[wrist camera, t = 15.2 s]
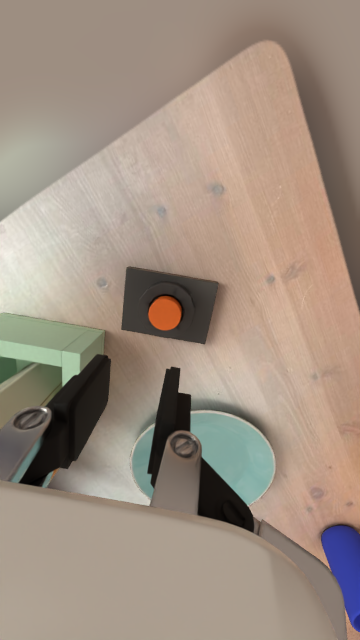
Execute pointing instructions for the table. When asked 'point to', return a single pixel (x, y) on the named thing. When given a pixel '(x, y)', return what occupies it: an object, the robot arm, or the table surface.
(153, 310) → the button
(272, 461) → the plate
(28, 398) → the cosmetic box
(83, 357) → the mint green storage bin
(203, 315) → the block
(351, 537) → the mug
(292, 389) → the table surface
